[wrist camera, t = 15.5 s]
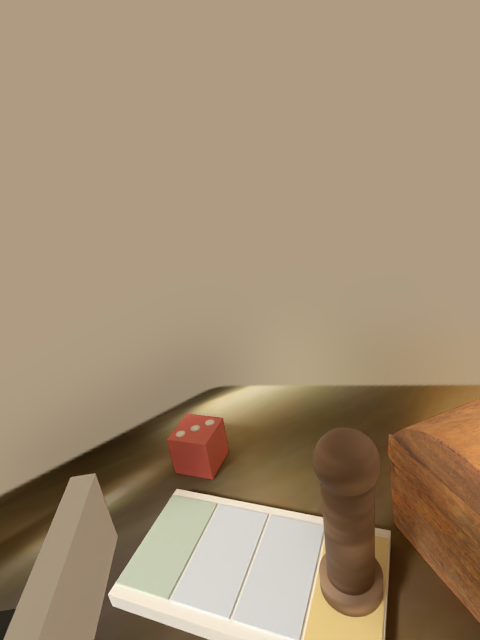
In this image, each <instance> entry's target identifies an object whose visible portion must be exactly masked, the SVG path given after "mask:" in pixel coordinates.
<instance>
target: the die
mask: <svg viewBox="0 0 480 640" xmlns="http://www.w3.org/2000/svg"><path fill="white" fill-rule="evenodd" d="M167 443H168V447H169V450H170V454H171V458H172V462H173V466H174V469H175V473H178V474H184V475H189V476H195V477H200V478H206V479H212V480H213V478H214V477H215V475H216V473H217V471H218V470H219V468H220V466H221V464H222V463H223V461H224V459H225V457H226V455H227V454H228V452H229V447H228V442H227V437H226V432H225V427H224V421H223V418H219V417H211V416H202V415H193V414H186V415H185V417H184V418H183V419H182V421H181V422H180V423H179V424H178V426H177V427H176V428H175V429H174V431H173V432H172V433H171V435H170V436H169V437H168V438H167Z"/></svg>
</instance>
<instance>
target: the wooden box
mask: <svg viewBox="0 0 480 640" xmlns="http://www.w3.org/2000/svg"><path fill="white" fill-rule="evenodd" d="M388 457H389V458H390V461H391V468H390V470H391V494H392V508H393V518H394V524H395V525H396V526H397V528H398V529H399V530H400V531H401V532H402V533H403V534H404V536H405V537H406V538H407V539H408V540H409V542H410V543H411V544H412V545H413V546H414V547H415V549H416V550H417V551H418V552H419V553H420V555H421V556H422V557H423V558H424V559H425V561H426V562H427V563H428V564H429V565H430V566H431V567H432V569H433V570H434V571H435V572H436V573H437V575H438V576H439V577H440V578H441V579H442V580H443V581H444V583H445V584H446V585H447V586H448V587H449V588H450V589H451V591H452V592H453V593H454V594H455V595H456V596H457V597H458V599H459V600H460V601H461V602H462V603H463V604H464V606H465V607H466V608H467V609H468V610H469V611H470V612H471V613H472V615H473V616H474V617H475V618H476V619H477V621H478V622H479V623H480V399H478V400H476V401H473V402H471V403H468V404H465V405H463V406H460V407H457V408H454V409H452V410H449V411H447V412H444V413H441V414H439V415H436V416H434V417H431V418H429V419H426V420H424V421H421V422H419V423H416V424H414V425H411V426H409V427H406V428H404V429H402V430H400V431H398V432H396V433H394V434H392V435H391V434H389V441H388Z"/></svg>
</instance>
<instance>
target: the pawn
mask: <svg viewBox="0 0 480 640" xmlns="http://www.w3.org/2000/svg"><path fill="white" fill-rule="evenodd" d="M313 465H314V469H315V472H316V475H317V477H318V478H319V480H320V482H321V495H322V509H323V523H324V537H325V551H326V553H325V554H324V556H323V557H322V559H321V561H320V566H319V576H320V586H321V591H322V594H323V596H324V598H325V600H326V601H327V603H328V604H329V605H330V606H331V607H332V608H333V609H335V610H336V611H337V612H339V613H341V614H343V615H346V616H350V617H363V616H367V615H369V614H371V613H373V612H374V611H375V610H376V609H377V608H378V607H379V605H380V604H381V601H382V598H383V572H382V568H381V566H380V564H379V562H378V561H377V559H376V558H375V483H376V482H377V480H378V478H379V475H380V470H381V459H380V455H379V452H378V450H377V447H376V446H375V444H374V443H373V441H372V440H371V439H370V438H369V437H368V436H367V435H365V434H364V433H362V432H361V431H358V430H356V429H353V428H347V427H341V428H336V429H333V430H330V431H329V432H327V433H326V434H324V435H323V436H322V437H321V438H320V439H319V441H318V443H317V444H316V447H315V449H314V454H313Z"/></svg>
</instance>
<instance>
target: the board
mask: <svg viewBox="0 0 480 640" xmlns="http://www.w3.org/2000/svg"><path fill="white" fill-rule="evenodd" d="M390 548H391V531H390V530H384V529H379V528H375V558H376V559H377V561H378V562H379V564H380V566H381V568H382V572H383V598H382V601H381V604H380V605H379V607H378V608H377V609H376V610H375V611H374V612H373V613H371V614H369V615H367V616H363V617H350V616H346V615H343V614H341V613H339V612H337V611H336V610H335V609H333V608H332V607H331V606H330V605H329V604H328V603H327V601H326V600H325V598H324V596H323V594H322V591H321V586H320V576H319V566H320V561H321V559H322V557H323V556H324V554H325V553H326V551H325V537H324V523H323V517H318V516H313V515H308V514H303V513H298V512H293V511H287V510H282V509H277V508H272V507H267V506H262V505H257V504H252V503H247V502H242V501H236V500H231V499H226V498H221V497H216V496H211V495H206V494H201V493H196V492H191V491H185V490H180V489H176V491H175V492H174V494H173V495H172V497H171V498H170V500H169V501H168V503H167V505H166V506H165V508H164V509H163V511H162V512H161V514H160V515H159V517H158V518H157V520H156V521H155V523H154V525H153V526H152V528H151V529H150V531H149V532H148V534H147V535H146V537H145V538H144V540H143V541H142V543H141V545H140V546H139V548H138V549H137V551H136V552H135V554H134V555H133V557H132V558H131V560H130V561H129V563H128V565H127V566H126V568H125V569H124V571H123V572H122V574H121V575H120V577H119V578H118V580H117V581H116V583H115V585H114V586H113V588H112V589H111V591H110V592H109V594H108V596H109V598H110V601H111V603H112V606H114V607H117V608H120V609H122V610H125V611H128V612H131V613H134V614H137V615H140V616H143V617H146V618H148V619H151V620H154V621H157V622H160V623H163V624H166V625H169V626H172V627H174V628H177V629H180V630H183V631H186V632H189V633H192V634H195V635H198V636H200V637H203V638H206V639H209V640H385V637H386V619H387V601H388V584H389V566H390Z"/></svg>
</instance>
